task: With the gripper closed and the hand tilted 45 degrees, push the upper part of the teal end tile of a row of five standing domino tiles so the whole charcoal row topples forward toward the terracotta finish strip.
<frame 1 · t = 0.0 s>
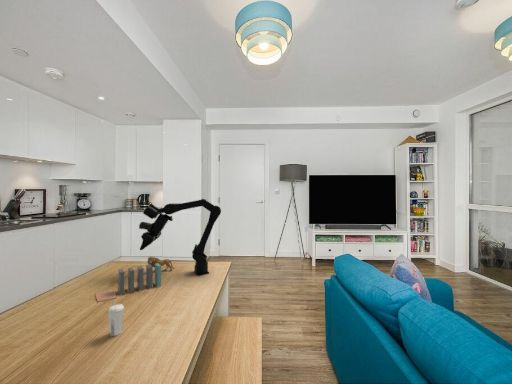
hand: (143, 247, 136), 15 cm above the table, tool tilted 35°, fingers open, 9 cm apart
finish strip: (105, 296, 109), on the table
domino 1: (157, 285, 122), on the table
domino 3: (140, 288, 118), on the table
domino 4: (130, 290, 115), on the table
lion figurine: (160, 271, 143), on the table
domino 2: (149, 286, 120), on the table
milkshake: (115, 333, 81), on the table
domino 5: (121, 292, 113), on the table
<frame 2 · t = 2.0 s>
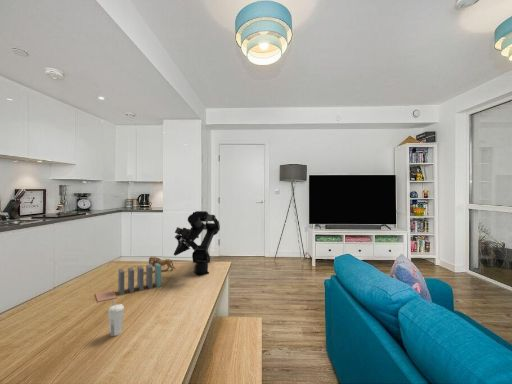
hand: (174, 255, 127), 14 cm above the table, tool tilted 45°, fingers closed
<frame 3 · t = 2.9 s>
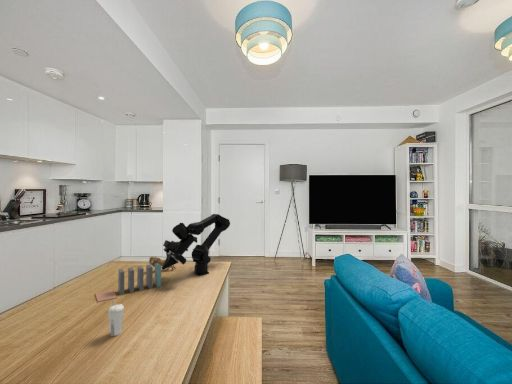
hand: (162, 269, 124), 7 cm above the table, tool tilted 45°, fingers closed
nothing on the table moved.
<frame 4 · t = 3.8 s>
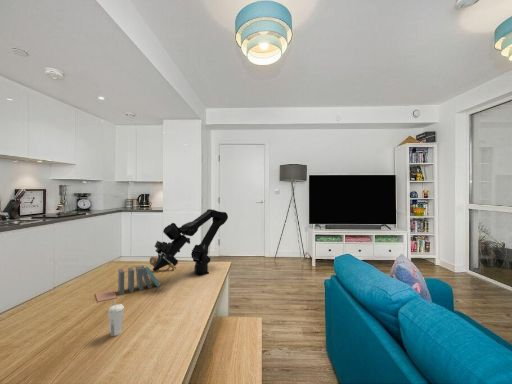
hand: (153, 270, 121), 8 cm above the table, tool tilted 45°, fingers closed
domino 1: (157, 284, 122), on the table, tilted 30°, touching domino 2
domino 2: (149, 286, 120), on the table, tilted 18°, touching domino 1
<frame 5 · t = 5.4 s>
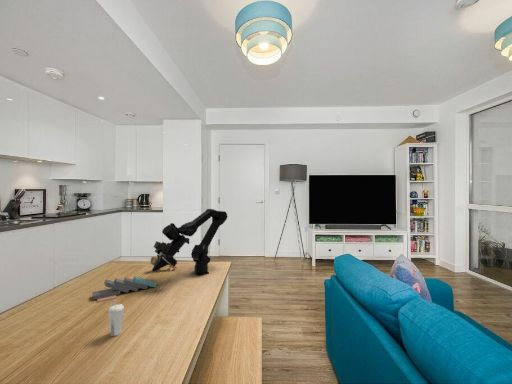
hand: (152, 270, 121), 7 cm above the table, tool tilted 45°, fingers closed
domino 1: (154, 284, 121), point 1 cm above the table, tilted 64°, touching domino 2
domino 3: (136, 288, 117), point 1 cm above the table, tilted 61°, touching domino 2, domino 4
domino 4: (127, 289, 114), point 1 cm above the table, tilted 61°, touching domino 3, domino 5
domino 2: (145, 286, 119), point 1 cm above the table, tilted 63°, touching domino 1, domino 3
domino 5: (119, 290, 112), point 1 cm above the table, tilted 90°, touching domino 4, finish strip
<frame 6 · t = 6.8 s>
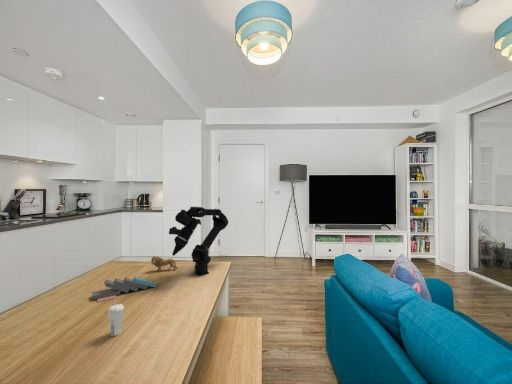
hand: (173, 255, 128), 13 cm above the table, tool tilted 30°, fingers closed
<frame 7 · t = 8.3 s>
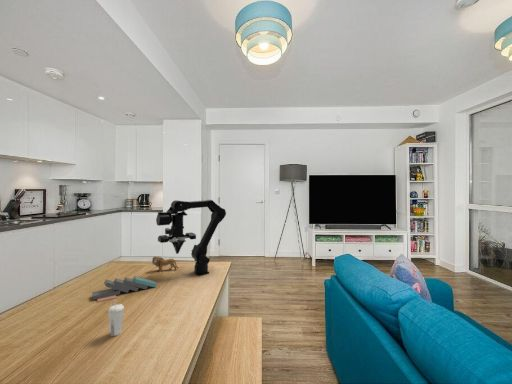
hand: (177, 253, 132), 13 cm above the table, tool pointing down, fingers closed
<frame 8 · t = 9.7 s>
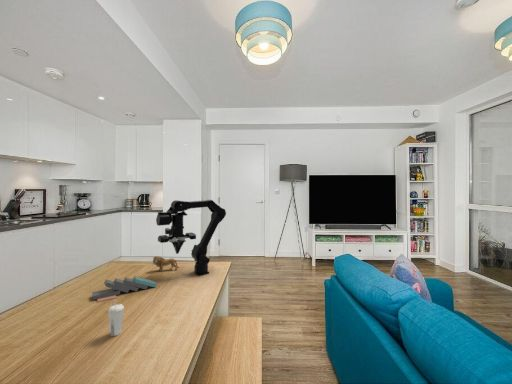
hand: (177, 253, 132), 13 cm above the table, tool pointing down, fingers closed
at the end: domino 5 tilted 90°; domino 1 tilted 64° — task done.
